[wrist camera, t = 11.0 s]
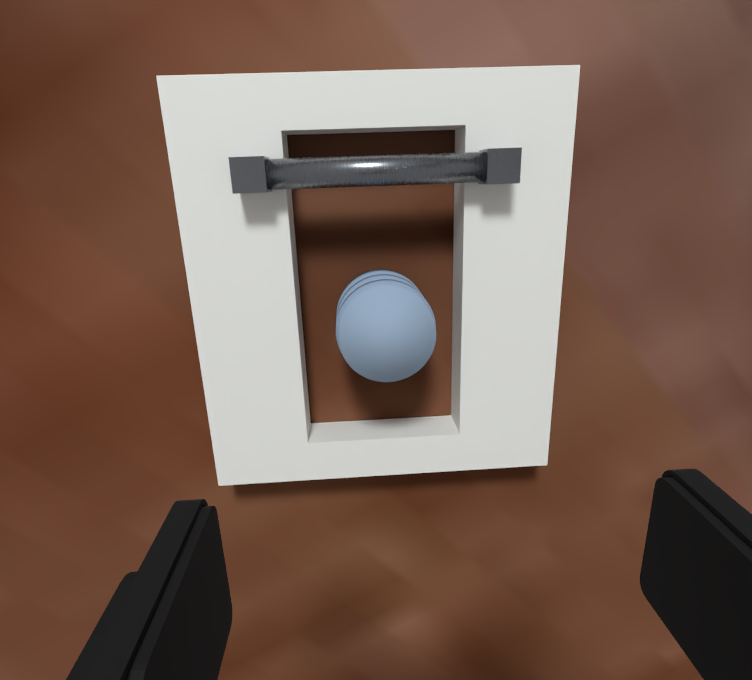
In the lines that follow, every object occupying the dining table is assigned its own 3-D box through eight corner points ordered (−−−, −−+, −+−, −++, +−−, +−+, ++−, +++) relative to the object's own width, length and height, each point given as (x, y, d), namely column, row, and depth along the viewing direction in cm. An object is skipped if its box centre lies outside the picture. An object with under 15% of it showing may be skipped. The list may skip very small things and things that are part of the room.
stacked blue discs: (421, 264, 29) (439, 283, 24) (422, 347, 31) (439, 381, 25) (334, 268, 29) (332, 288, 24) (339, 352, 30) (338, 388, 25)
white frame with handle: (558, 75, 26) (580, 65, 24) (532, 444, 33) (547, 465, 31) (173, 85, 25) (156, 75, 23) (227, 463, 32) (218, 485, 30)
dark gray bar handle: (510, 149, 25) (521, 147, 23) (508, 183, 25) (519, 183, 24) (236, 158, 24) (228, 157, 23) (239, 192, 25) (232, 193, 23)
